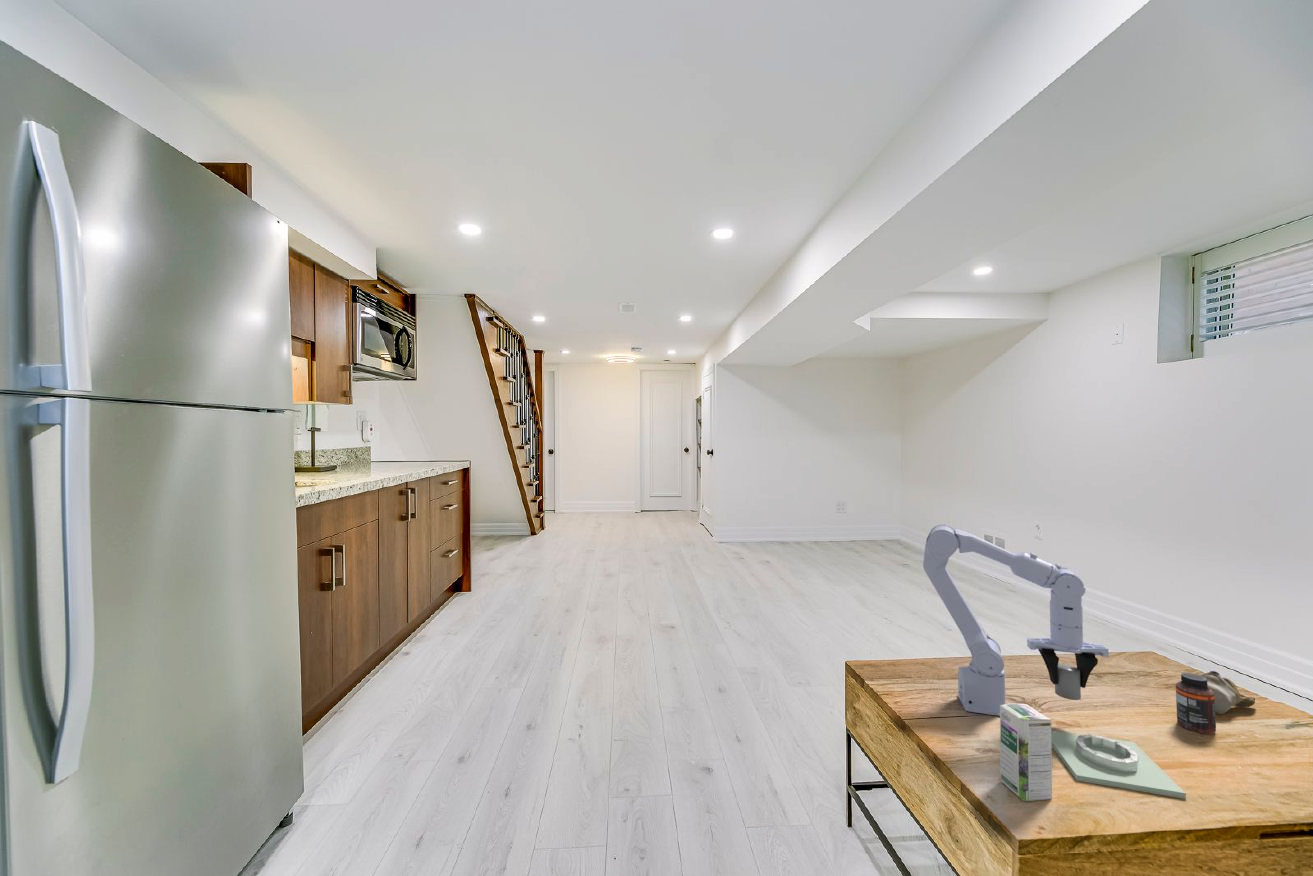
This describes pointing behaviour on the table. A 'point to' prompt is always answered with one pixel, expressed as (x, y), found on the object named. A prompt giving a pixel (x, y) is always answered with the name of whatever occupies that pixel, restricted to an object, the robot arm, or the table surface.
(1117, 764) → the duct collar
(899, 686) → the table surface
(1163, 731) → the table surface
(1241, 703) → the ceramic sculpture
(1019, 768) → the syrup box
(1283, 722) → the table surface
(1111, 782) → the plate
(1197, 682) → the supplement bottle
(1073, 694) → the grey rounded block
